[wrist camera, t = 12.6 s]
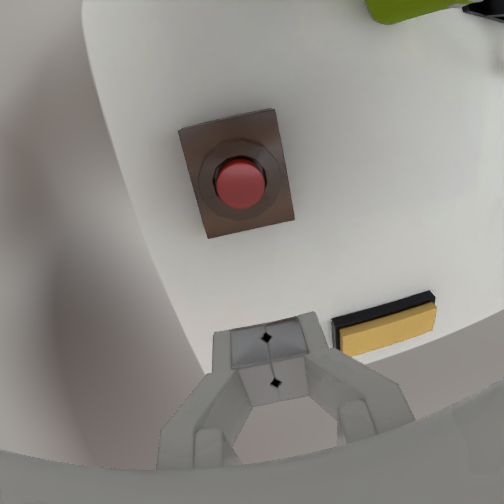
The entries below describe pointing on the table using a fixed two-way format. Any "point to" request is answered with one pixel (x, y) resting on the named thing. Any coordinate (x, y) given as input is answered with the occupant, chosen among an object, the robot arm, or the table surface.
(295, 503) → the robot arm
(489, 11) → the switch bracket
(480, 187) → the table surface
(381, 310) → the whetstone on a base
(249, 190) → the button
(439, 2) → the vape
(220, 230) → the button block
